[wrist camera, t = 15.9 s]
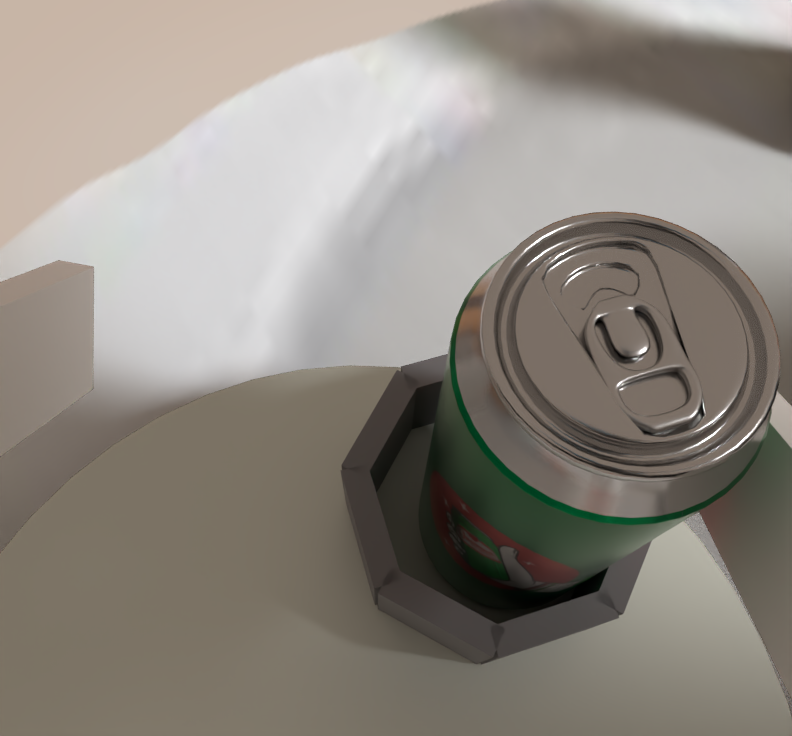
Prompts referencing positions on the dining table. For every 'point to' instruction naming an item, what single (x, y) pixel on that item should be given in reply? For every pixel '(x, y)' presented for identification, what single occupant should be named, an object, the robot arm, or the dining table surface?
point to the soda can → (591, 404)
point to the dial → (339, 594)
